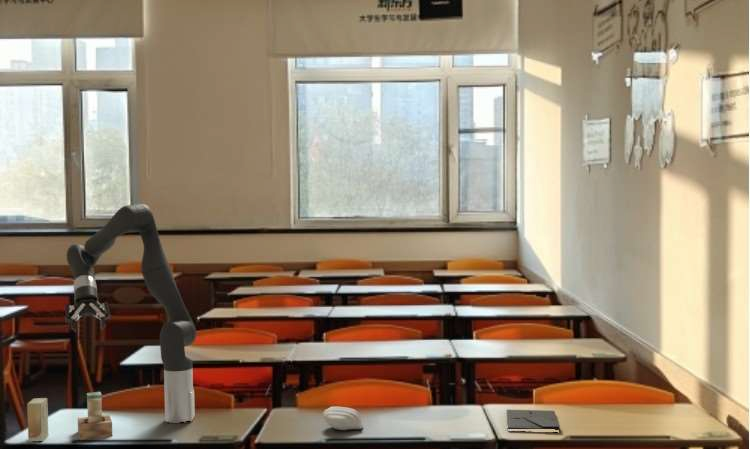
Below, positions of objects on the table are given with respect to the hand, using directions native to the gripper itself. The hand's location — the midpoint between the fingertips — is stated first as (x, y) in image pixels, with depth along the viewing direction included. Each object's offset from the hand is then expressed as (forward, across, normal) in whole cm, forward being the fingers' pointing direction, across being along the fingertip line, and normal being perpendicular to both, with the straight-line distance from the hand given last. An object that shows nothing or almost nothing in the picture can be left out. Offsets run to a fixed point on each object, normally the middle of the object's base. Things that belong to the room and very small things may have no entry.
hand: (88, 329), depth 266 cm
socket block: (+34, 0, +10) cm, 35 cm away
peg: (+33, 0, +10) cm, 34 cm away
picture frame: (+70, +129, -26) cm, 149 cm away
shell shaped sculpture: (+55, +72, -11) cm, 91 cm away
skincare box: (+32, -17, +11) cm, 38 cm away
